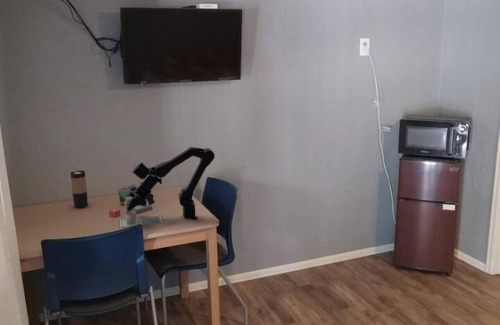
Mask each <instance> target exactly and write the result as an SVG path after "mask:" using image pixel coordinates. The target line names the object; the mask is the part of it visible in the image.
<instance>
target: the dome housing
mask: <svg viewBox="0 0 500 325" xmlns="http://www.w3.org/2000/svg"><path fill="white" fill-rule="evenodd" d="M151 210H153V205H149V203H147V204H146V205H145V207H143V208H139V209H135V215H138V214H141V213H145V212H148V211H151Z"/></svg>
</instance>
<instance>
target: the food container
mask: <svg viewBox="0 0 500 325" xmlns="http://www.w3.org/2000/svg"><path fill="white" fill-rule="evenodd" d="M132 186H135V187H137V188H138V186H137V184H136V183H133V185H127V186H124V187H121V188H118V187H117V193H118V197H119V204H120V205H121V206H125V203H124V201H126V199H125V198H126V197H129V193H130V191H131V190H130V188H131V187H132ZM131 192H132V191H131Z"/></svg>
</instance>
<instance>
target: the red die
mask: <svg viewBox="0 0 500 325" xmlns="http://www.w3.org/2000/svg"><path fill="white" fill-rule="evenodd" d="M108 214H109V215H108V216H109V217H110V218H117V217H119V216H121V209H117V208H112V209H109V211H108Z"/></svg>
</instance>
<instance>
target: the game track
mask: <svg viewBox="0 0 500 325" xmlns="http://www.w3.org/2000/svg"><path fill="white" fill-rule="evenodd" d="M137 224H142V225H143V226H142V227H145V226H153V225H162V224H165V222H164V219H163V216H162V215H152V216H151V215H150V216H144V217H142V216H141V217H136V223H134V224H127V223H126V218H123V219H118V229H127V228H131V227H130V226H134V225H137Z"/></svg>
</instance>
